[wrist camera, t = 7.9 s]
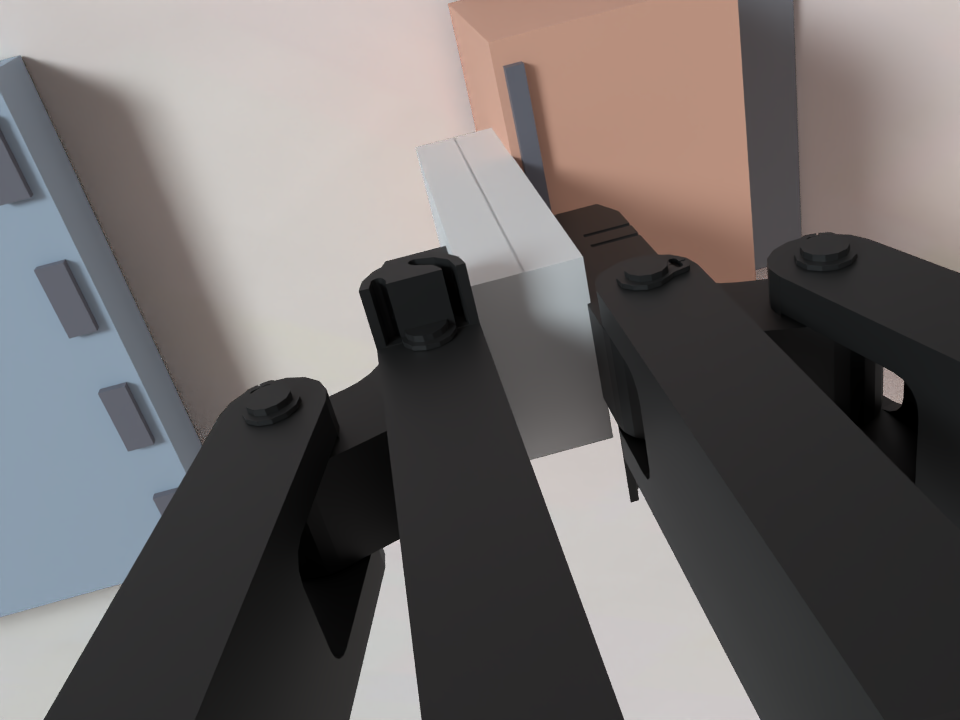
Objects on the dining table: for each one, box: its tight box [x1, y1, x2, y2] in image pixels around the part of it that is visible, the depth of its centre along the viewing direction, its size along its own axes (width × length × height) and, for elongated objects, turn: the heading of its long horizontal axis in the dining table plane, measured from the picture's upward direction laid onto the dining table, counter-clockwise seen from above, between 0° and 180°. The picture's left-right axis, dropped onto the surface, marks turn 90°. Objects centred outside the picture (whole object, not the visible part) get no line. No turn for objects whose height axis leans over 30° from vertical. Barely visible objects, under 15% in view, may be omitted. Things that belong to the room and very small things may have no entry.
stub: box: [448, 0, 756, 283], centre depth 17 cm, size 4×6×5 cm, turn 13°
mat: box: [738, 0, 802, 270], centre depth 20 cm, size 7×10×1 cm
